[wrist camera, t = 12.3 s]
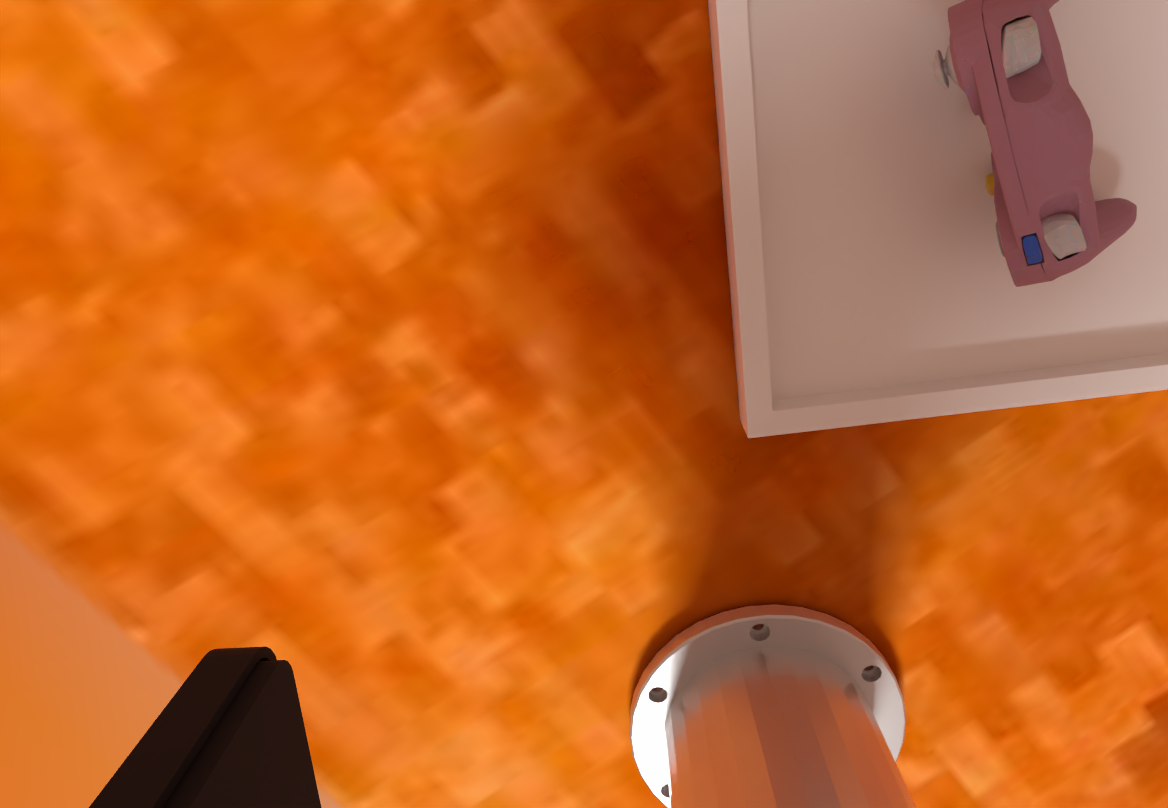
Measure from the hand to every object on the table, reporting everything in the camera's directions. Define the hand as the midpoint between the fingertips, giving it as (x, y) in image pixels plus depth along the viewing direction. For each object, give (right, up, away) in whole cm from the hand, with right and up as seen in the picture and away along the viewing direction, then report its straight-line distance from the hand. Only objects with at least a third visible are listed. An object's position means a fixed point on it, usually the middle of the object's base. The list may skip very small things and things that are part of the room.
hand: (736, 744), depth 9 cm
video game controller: (+13, +13, +21) cm, 28 cm away
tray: (+13, +13, +22) cm, 29 cm away
